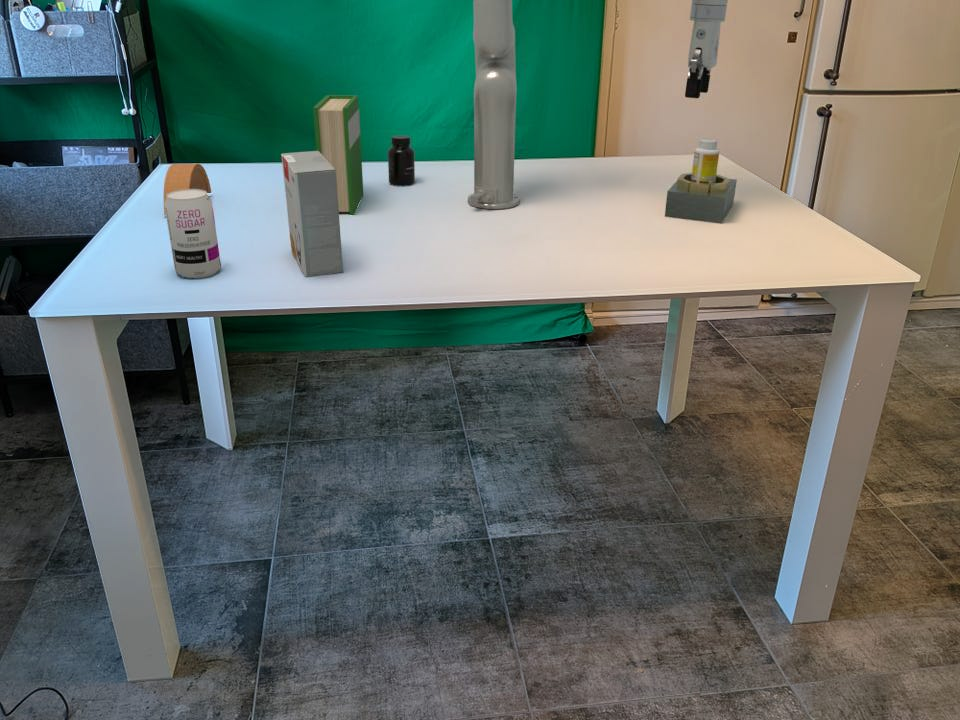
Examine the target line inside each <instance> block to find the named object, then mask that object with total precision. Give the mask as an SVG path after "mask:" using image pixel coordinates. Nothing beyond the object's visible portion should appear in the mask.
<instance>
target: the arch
mask: <svg viewBox="0 0 960 720" xmlns="http://www.w3.org/2000/svg"><path fill="white" fill-rule="evenodd" d="M183 189H200V190H204V191H206V192H207V193H211V192H212V188H211V184H210V179H209V177H208V174H207V171H206V170H205V168H204V166H203V165H202V164H200V163H172V164H170V166H169V167H168V168H167V171H166V174H165V178H164V184H163V204H164V203H165V200H166V197H167V196H166V195H167V194H168V193H170V192H173V191H177V190H183ZM163 211H164V213H163V214H164V216H165V215H166V212H165V206H164V205H163Z"/></svg>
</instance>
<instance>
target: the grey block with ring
mask: <svg viewBox="0 0 960 720" xmlns="http://www.w3.org/2000/svg"><path fill="white" fill-rule="evenodd" d="M691 177H692V172H690V173H689V172H687V173H682V174H680V175H679V176H678V177H677V180H676V181H675V182H674V183H673V184H672V185H671V187H670V188H669V189H668V190H667V193H666V201H665V209H664V217H665V218H672V219H673V218H674V219H681V220H689V221H696V222H697V221H698V222H707V223H714V224H720V225H721V224H723V223H724V221H725V219H726V217H727V216H728V214H729V212H730V211H731V209H732V207H733V205H734V202H735V196H736V195H735V194H736V189H737V188H736V187H737V182H738V180H737V179H736V178H729V177H726V176H723V175H720V174H717V173H716V180H715V184H703V183H694V182H691Z"/></svg>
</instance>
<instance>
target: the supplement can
mask: <svg viewBox="0 0 960 720" xmlns="http://www.w3.org/2000/svg"><path fill="white" fill-rule="evenodd" d="M166 196H167V197H166V200H165V203H164V202H163V207H164V206H165V212H166V218H167V219H166V223H167V230H168V234H169V235H168V236H169V241H170V247H171V252H172V259H173V264H174V265H173V266H174V271H175V273H176V274H178V275H179V276H180V275H181V276H180V277H182V278H184V277H186V279H191V278H194V280H195V279H204V278H208V277H209V278H210V277H212V276H214V275H216V274H217V273H218V272H219V271H220V269H221V267H222V264H221V257H220V248H219V242H218V235H217V229H216V228H217V227H216V221H215V214H214V206H213V201H212V199H211V198H210V197H211V196H208V195H207V192H206V191H204V190H200V189H183V190H177V191H173V192H170V193H168V194H167V195H166Z"/></svg>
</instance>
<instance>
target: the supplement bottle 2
mask: <svg viewBox="0 0 960 720" xmlns="http://www.w3.org/2000/svg"><path fill="white" fill-rule="evenodd" d="M717 146H718V140H717V139H715V138H710V137H709V138H708V137H707V138H706V137H705V138H699V143H698V147H696V148H694V152H693V153H694V154H693V161H692V169H691V173H692V177H691V182H694V183H703V184H715V180H716V174H717V172H718V166H719V156H720V149H719V148H717Z"/></svg>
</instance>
